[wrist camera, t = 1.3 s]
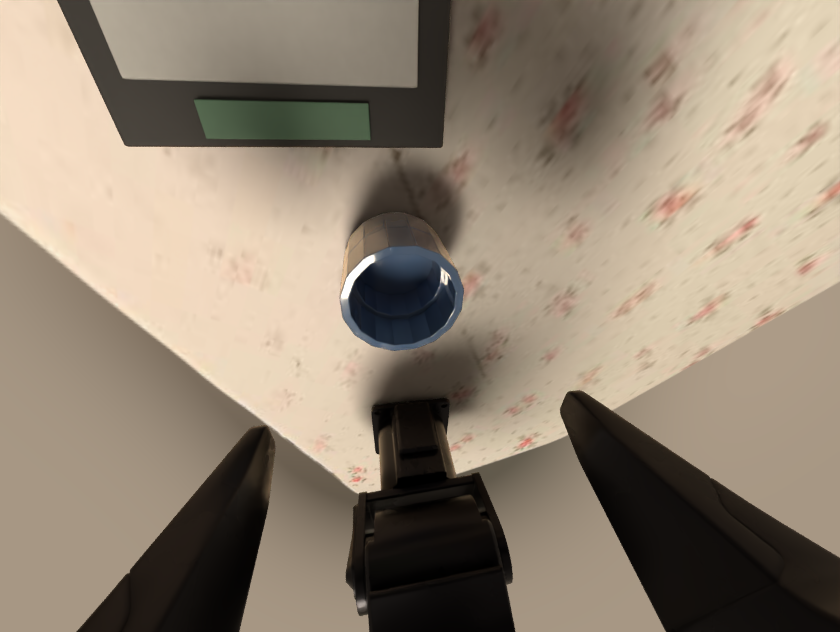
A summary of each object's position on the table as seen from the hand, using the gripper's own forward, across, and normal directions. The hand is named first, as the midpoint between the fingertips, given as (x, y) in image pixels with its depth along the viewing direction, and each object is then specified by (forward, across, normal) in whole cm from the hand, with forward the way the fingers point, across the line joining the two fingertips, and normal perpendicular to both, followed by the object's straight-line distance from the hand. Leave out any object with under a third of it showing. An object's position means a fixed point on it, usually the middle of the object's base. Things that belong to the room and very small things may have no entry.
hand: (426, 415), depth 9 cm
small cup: (+11, 0, 0) cm, 11 cm away
